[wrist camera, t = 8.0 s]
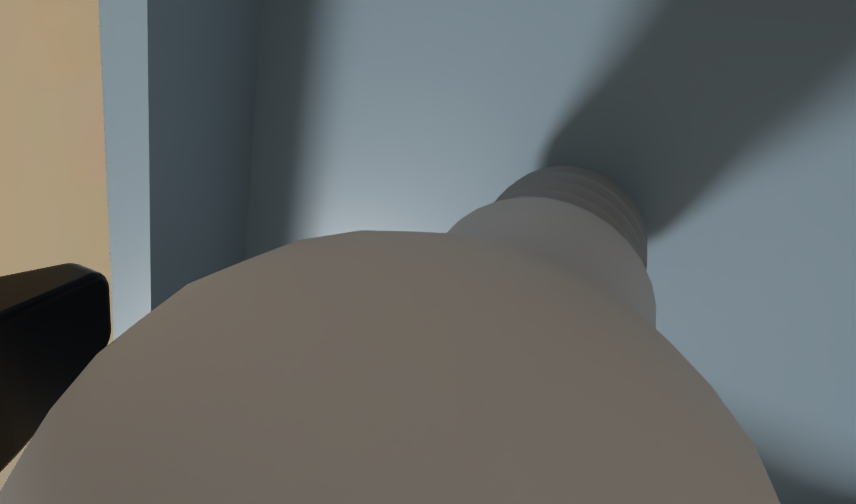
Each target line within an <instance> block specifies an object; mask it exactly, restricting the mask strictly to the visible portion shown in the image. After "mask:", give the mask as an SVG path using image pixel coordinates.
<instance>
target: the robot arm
mask: <svg viewBox="0 0 856 504" xmlns="http://www.w3.org/2000/svg"><path fill="white" fill-rule="evenodd" d="M110 334H111V319H110V299H109V285H108V282H107V280H106V278H105V276H103V275H102V274H101V273H99V272H96V271H94V270H91V269H89V268H86V267H84V266H81V265H79V264H74V263H67V264H61V265H56V266H51V267H46V268H41V269H37V270H31V271H26V272H21V273H16V274H11V275H6V276H1V277H0V472H1V471H2V470H3V469H4V468H5V467H6V466H7V465H8V463H10V462H11V461H12V459H13V458H14V457H15V456H16V455H17V454H18V453H19V452H20V451H21V450H22V448H23V447H24V446H25V445H26V444H27V443H28V442H29V441H30V439H31V438H32V437H33V436H34V434H35V433H36V431H37V429H38V428H39V426H40V425H41V423H42V421H43V420H44V418H45V417H46V415H47V414H48V412H49V410H50V409H51V408H52V407H53V405H54V404H55V403H56V402H57V401H58V400H59V398H60V397H61V396H62V395H63V394H64V392H65V391H66V390H67V389H68V388H69V387H70V385H71V384H72V383H73V382H74V381H75V379H76V378H77V377H78V376H79V375H80V373H81V372H82V371H83V370H84V369H85V368H86V366H87V365H88V364H89V363H90V362H91V360H92V359H93V358H94V357H95V356H96V355H97V354H98V353H99V352H100V351H101V350H103V349H104V348H105V347H106V346H107V344H108V341H109V339H110Z"/></svg>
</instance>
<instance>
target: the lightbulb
mask: <svg viewBox="0 0 856 504" xmlns="http://www.w3.org/2000/svg"><path fill="white" fill-rule="evenodd" d="M646 269H647V232H646V227H645V223H644V220H643V218H642V215H641V213H640V211H639V209H638V207H637V206H636V204H635V203H634V201H633V200H632V199H631V197H630V196H629V195H628V194H627V193H626V192H625V191H624V190H623V189H622V188H621V187H620V186H619V185H618V184H616V183H615V182H613V181H612V180H610V179H608V178H607V177H605V176H604V175H601V174H599V173H596V172H594V171H591V170H589V169H584V168H579V167H574V166H553V167H547V168H542V169H539V170H536V171H534V172H531V173H529V174H527V175H525V176H524V177H522V178H520V179H519V180H517V181H516V182H515V183H514V184H512V185H511V186H509V187H508V188H507V189H506V190H505V191H504V192H503V193H502V194H501V195H500V196H499V197H498V198H497V200H496V201H495V202H494V203H491V204H489V205H486V206H483V207H481V208H478V209H476V210H474V211H473V212H471V213H470V214H468V215H467V216H465V217H463V218H462V219H460V220H459V221H458V222H457V223H456V224H455V225H454V226H453V227H452V228H451V229H450V230H449V231H448V232H447V233H435V232H416V231H372V230H360V231H353V232H347V233H340V234H334V235H327V236H321V237H314V238H308V239H302V240H298V241H295V242H292V243H290V244H287V245H285V246H282V247H279V248H277V249H274V250H271V251H269V252H266V253H263V254H261V255H258V256H256V257H253V258H250V259H248V260H245V261H242V262H240V263H238V264H235V265H233V266H230V267H228V268H225V269H223V270H221V271H218V272H216V273H213V274H211V275H208V276H206V277H203V278H201V279H199V280H196V281H194V282H191V283H189V284H187V285H186V286H184V287H183V288H182V289H180V290H179V291H178V292H176V293H175V294H174V295H172V296H171V297H170V298H168V299H167V300H166V301H164V302H163V303H162V304H160V305H159V306H158V307H156V308H155V309H154V310H152V311H151V312H150V313H148V314H147V315H146V316H144V317H143V318H142V319H140V320H139V321H138V322H137V323H135V324H134V325H133V326H132V327H130V328H129V329H128V330H126V331H125V332H124V333H123V334H121V335H120V336H119V337H118V338H116V339H115V340H114V341H113V342H111V343H110V344H109V345H108V346H106V347H105V348H104V349H103V350H101V351H100V352H99V353H98V354H97V355H96V356H95V357H94V358H93V359H92V360H91V362H90V363H89V364H88V365H87V366H86V368H85V369H84V370H83V371H82V372H81V373H80V375H79V376H78V377H77V378H76V379H75V381H74V382H73V383H72V384H71V385H70V387H69V388H68V389H67V390H66V391H65V392H64V394H63V395H62V396H61V397H60V398H59V400H58V401H57V402H56V403H55V404H54V405H53V407H52V408H51V409H50V410H49V412H48V414H47V415H46V417H45V418H44V420H43V421H42V423H41V425H40V426H39V428H38V429H37V431H36V433H35V434H34V436H33V437H32V439H31V440H30V442H29V444H28V445H27V447H26V449H25V450H24V452H23V453H22V455H21V457H20V459H19V460H18V462H17V464H16V466H15V467H14V469H13V470H12V472H11V474H10V476H9V477H8V479H7V481H6V482H5V484H4V486H3V487H2V489H1V491H0V504H780V501H779V499H778V497H777V495H776V492H775V490H774V488H773V485H772V483H771V481H770V479H769V476H768V474H767V472H766V469H765V467H764V465H763V463H762V460H761V458H760V456H759V453H758V451H757V449H756V447H755V445H754V444H753V442H752V441H751V440H750V438H749V437H748V435H747V434H746V433H745V431H744V430H743V429H742V427H741V426H740V425H739V423H738V422H737V420H736V419H735V418H734V416H733V415H732V414H731V412H730V411H729V409H728V408H727V407H726V405H725V404H724V403H723V401H722V400H721V398H720V397H719V396H718V394H717V393H716V392H715V390H714V389H713V387H712V386H711V385H710V384H709V383H708V382H707V381H706V380H705V378H704V377H703V376H702V375H701V374H700V373H699V372H698V371H697V370H696V369H695V368H694V367H693V366H692V365H691V364H690V363H689V362H688V360H687V359H686V358H685V357H684V356H683V355H682V354H681V353H680V352H679V351H678V350H677V349H676V348H675V347H674V346H673V345H672V344H671V343H670V342H669V341H668V340H667V339H666V338H665V337H664V336H663V335H662V334H661V333H660V332H659V331H658V330H656V301H655V296H654V291H653V287H652V283H651V280H650V278H649V276H648V274H647V272H646Z"/></svg>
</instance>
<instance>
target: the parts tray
mask: <svg viewBox="0 0 856 504" xmlns="http://www.w3.org/2000/svg"><path fill="white" fill-rule="evenodd" d="M99 21H100V43H101V65H102V87H103V108H104V130H105V152H106V174H107V196H108V218H109V240H110V262H111V284H112V306H113V328H114V340H115V339H116V338H118V337H119V336H120V335H121V334H123V333H124V332H125V331H126V330H128V329H129V328H130V327H132V326H133V325H134V324H135V323H137V322H138V321H139V320H140V319H142V318H143V317H144V316H146V315H147V314H148V313H150V312H151V311H152V310H154V309H155V308H156V307H158V306H159V305H160V304H162V303H163V302H164V301H166V300H167V299H168V298H170V297H171V296H172V295H174V294H175V293H176V292H178V291H179V290H180V289H182V288H183V287H184V286H186V285H187V284H189V283H191V282H194V281H196V280H199V279H201V278H203V277H206V276H208V275H211V274H213V273H216V272H218V271H221V270H223V269H225V268H228V267H230V266H233V265H235V264H238V263H240V262H242V261H245V260H248V259H250V258H253V257H256V256H258V255H261V254H263V253H266V252H269V251H271V250H274V249H277V248H279V247H282V246H285V245H287V244H290V243H292V242H295V241H298V240H302V239H308V238H314V237H321V236H327V235H334V234H340V233H347V232H353V231H360V230H372V231H416V232H435V233H447V232H448V231H449V230H450V229H451V228H452V227H453V226H454V225H455V224H456V223H457V222H458V221H459V220H460V219H462V218H463V217H465V216H467V215H468V214H470V213H471V212H473V211H474V210H476V209H478V208H481V207H483V206H486V205H489V204H491V203H494V202H495V201H496V200H497V198H498V197H499V196H500V195H501V194H502V193H503V192H504V191H505V190H506V189H507V188H508V187H509V186H511V185H512V184H514V183H515V182H516V181H517V180H519V179H520V178H522V177H524V176H525V175H527V174H529V173H531V172H534V171H536V170H539V169H542V168H547V167H553V166H574V167H579V168H584V169H589V170H591V171H594V172H596V173H599V174H601V175H604V176H605V177H607V178H608V179H610V180H612V181H613V182H615V183H616V184H618V185H619V186H620V187H621V188H622V189H623V190H624V191H625V192H626V193H627V194H628V195H629V196H630V197H631V199H632V200H633V201H634V203H635V204H636V206H637V207H638V209H639V211H640V213H641V215H642V218H643V220H644V223H645V227H646V232H647V269H646V272H647V274H648V276H649V278H650V280H651V283H652V287H653V291H654V296H655V301H656V330H658V331H659V332H660V333H661V334H662V335H663V336H664V337H665V338H666V339H667V340H668V341H669V342H670V343H671V344H672V345H673V346H674V347H675V348H676V349H677V350H678V351H679V352H680V353H681V354H682V355H683V356H684V357H685V358H686V359H687V360H688V362H689V363H690V364H691V365H692V366H693V367H694V368H695V369H696V370H697V371H698V372H699V373H700V374H701V375H702V376H703V377H704V378H705V380H706V381H707V382H708V383H709V384H710V385H711V386H712V387H713V389H714V390H715V392H716V393H717V394H718V396H719V397H720V398H721V400H722V401H723V403H724V404H725V405H726V407H727V408H728V409H729V411H730V412H731V414H732V415H733V416H734V418H735V419H736V420H737V422H738V423H739V425H740V426H741V427H742V429H743V430H744V431H745V433H746V434H747V435H748V437H749V438H750V440H751V441H752V442H753V444H754V445H755V447H756V449H757V451H758V453H759V456H760V458H761V460H762V463H763V465H764V467H765V469H766V472H767V474H768V476H769V479H770V481H771V483H772V485H773V488H774V490H775V492H776V495H777V497H778V499H779V501H780V504H856V0H99Z"/></svg>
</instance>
